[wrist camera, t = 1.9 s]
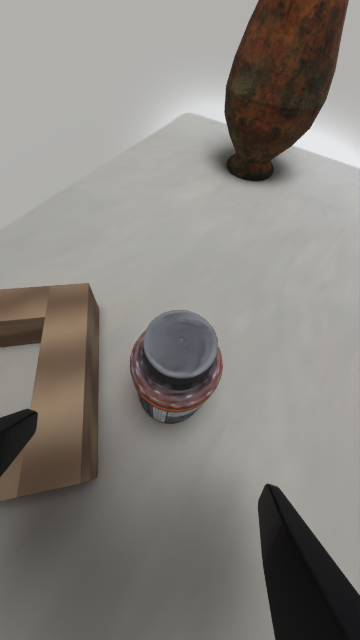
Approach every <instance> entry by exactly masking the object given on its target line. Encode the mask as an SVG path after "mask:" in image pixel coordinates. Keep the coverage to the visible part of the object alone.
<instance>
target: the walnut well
mask: <svg viewBox="0 0 360 640" xmlns="http://www.w3.org/2000/svg"><path fill="white" fill-rule="evenodd" d="M32 343H41V346H40V352H39V358H38V365H37V371H36V377H35V383H34V390H33V396H32V402H31V410H34V411H37V412H38V420H37V429H36V432H35V434H34V435H33V437H32V438H31V439H30V441H29V442H28V443H27V444H26V446H25V447H24V448H23V450H22V451H21V452H20V453H19V455H18V456H17V457H16V458H15V460H14V461H13V462H12V464H11V465H10V466H9V467H8V469H7V470H6V471H5V472H4V473H3V475H2V476H1V477H0V501H3V500H8V499H13V498H17V497H22V496H26V495H31V494H35V493H40V492H44V491H49V490H54V489H58V488H63V487H67V486H72V485H76V484H81V483H83V482H86V481H88V480H91V479H94V478H96V477H97V464H98V368H99V308H98V305H97V303H96V300H95V298H94V295H93V293H92V290H91V288H90V285H89V283H83V284H69V285H56V286H42V287H29V288H15V289H2V290H0V347H6V346H15V345H24V344H32Z"/></svg>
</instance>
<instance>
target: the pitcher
mask: <svg viewBox="0 0 360 640" xmlns="http://www.w3.org/2000/svg"><path fill="white" fill-rule="evenodd" d="M348 1H349V0H259V1H258V3H257V5H256V8H255V10H254V12H253V14H252V16H251V18H250V20H249V23H248V25H247V28H246V30H245V33H244V35H243V37H242V40H241V43H240V45H239V47H238V50H237V52H236V55H235V57H234V61H233V64H232V68H231V71H230V75H229V78H228V81H227V85H226V98H225V118H226V122H227V126H228V130H229V135H230V138H231V140H232V143H233V146H234V148H235V151H236V154H234V155H233V156H231V157H230V158H229V159H228V161H227V167H228V169H229V171H230V172H231V173H232V174H234V175H235V176H237V177H240V178H243V179H247V180H264V179H267V178H269V177H270V176H271V175H272V173H273V170H274V167H273V165H272V163H271V159H273V158H274V157H276V156H278V155H279V154H281V153H282V152H284V151H285V150H287V149H288V148H290V147H291V146H292V145H293V144H294V143H295V142H296V141H297V140H298V139H299V138H300V137H301V136H302V135H304V134H305V132H307V131H308V130H309V129H310V127H311V126H312V124H313V122H314V120H315V118H316V117H317V115H318V113H319V111H320V110H321V108H322V106H323V104H324V103H325V101H326V98H327V95H328V92H329V89H330V85H331V82H332V79H333V76H334V72H335V69H336V62H337V58H338V52H339V46H340V41H341V35H342V30H343V25H344V21H345V16H346V10H347V6H348Z"/></svg>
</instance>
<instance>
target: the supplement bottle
mask: <svg viewBox="0 0 360 640" xmlns="http://www.w3.org/2000/svg"><path fill="white" fill-rule="evenodd" d="M130 369H131V375H132V378H133V382H134V385H135V388H136V390H137V393H138V396H139V399H140V402H141V404H142V406H143V408H144V410H145V411H146V412H147V413H148V414H149V415H150V416H151V417H152V418H154V419H156V420H157V421H160V422H163V423H169V424H171V423H178V422H181V421H184V420H185V419H187V418H189V417H190V416H191V415H192V414H194V413H195V411H196V410H197V409H198V408H199V407H200V406H201V405H202V404H203V403H204V402H205V401H206V400H207V399H208V398H209V397H210V396H211V395H212V393H213V392H214V391H215V389H216V387H217V385H218V383H219V381H220V378H221V375H222V369H223V363H222V355H221V352H220V349H219V347H218V340H217V336H216V333H215V331H214V329H213V327H212V326H211V325H210V324H209V323H208V322H207V321H206V320H205V319H204V318H203V317H201V316H200V315H198V314H196V313H193V312H190V311H185V310H174V311H168V312H166V313H163V314H161V315H159V316H158V317H156V318H155V319H154V320H153V321H152V322H151V323H150V324H149V326H148V327H147V329H146V331H145V332H143V333H142V334H141V336H140V337H139V338H138V340H137V341H136V343H135V344H134V347H133V350H132V353H131V356H130Z"/></svg>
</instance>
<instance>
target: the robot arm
mask: <svg viewBox="0 0 360 640" xmlns="http://www.w3.org/2000/svg"><path fill="white" fill-rule="evenodd" d="M37 420H38V412H37V411H34V410H31V409H25V410H22V411H19V412H16V413H13V414H10V415H7V416H4V417H1V418H0V477H1V476H2V475H3V473H4V472H5V471H6V470H7V469H8V467H9V466H10V465H11V464H12V462H13V461H14V460H15V458H16V457H17V456H18V455H19V453H20V452H21V451H22V450H23V448H24V447H25V446H26V444H27V443H28V442H29V441H30V439H31V438H32V437H33V435H34V434H35V432H36V429H37ZM258 514H259V526H260V538H261V550H262V560H263V568H264V575H265V581H266V587H267V593H268V599H269V605H270V611H271V617H272V623H273V629H274V635H275V640H360V595H359V594H358V593H357V591H356V590H355V589H354V587H353V586H352V584H351V583H350V582H349V580H348V579H347V578H346V576H345V575H344V574H343V572H342V571H341V570H340V568H339V567H338V566H337V564H336V563H335V562H334V560H333V559H332V558H331V556H330V555H329V554H328V552H327V551H326V550H325V548H324V547H323V546H322V544H321V543H320V542H319V540H318V539H317V538H316V536H315V535H314V534H313V532H312V531H311V530H310V528H309V527H308V526H307V524H306V523H305V522H304V520H303V519H302V518H301V516H300V515H299V514H298V512H297V511H296V510H295V508H294V507H293V506H292V504H291V503H290V502H289V500H288V499H287V498H286V496H285V495H284V494H283V492H282V491H281V490H280V489H279V488H278V487H277V486H274V485H271V484H266V485H265V486H264V489H263V491H262V493H261V496H260V498H259V501H258Z"/></svg>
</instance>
